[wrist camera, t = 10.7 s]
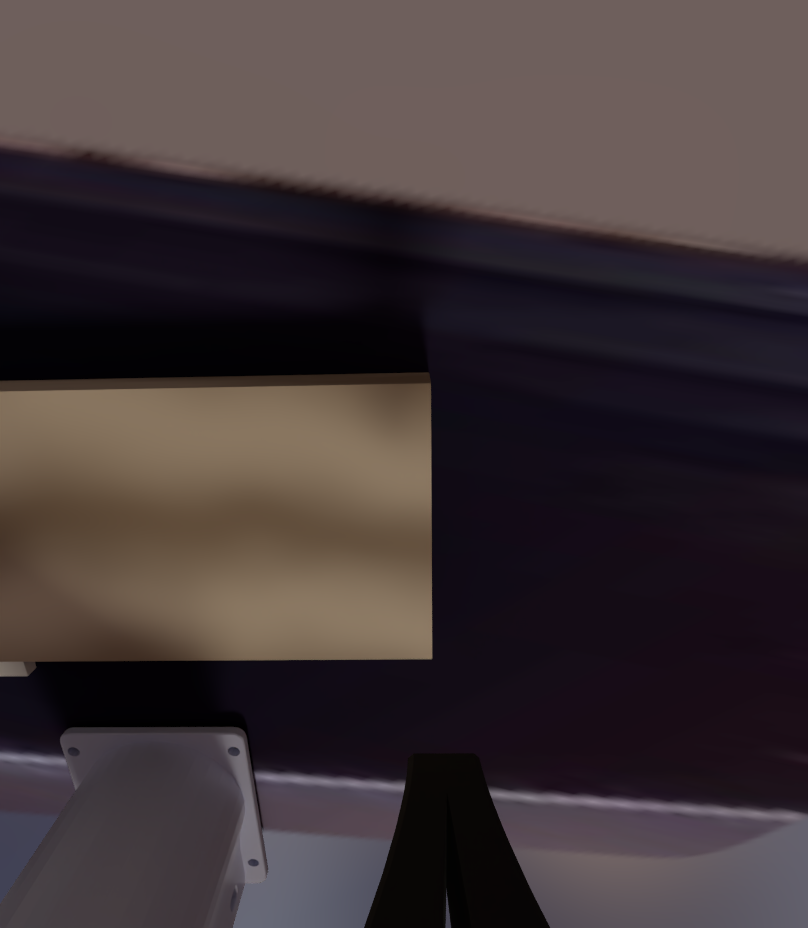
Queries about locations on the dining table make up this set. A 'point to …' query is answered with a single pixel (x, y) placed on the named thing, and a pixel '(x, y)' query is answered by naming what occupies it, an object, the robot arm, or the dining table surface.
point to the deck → (216, 518)
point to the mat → (16, 668)
